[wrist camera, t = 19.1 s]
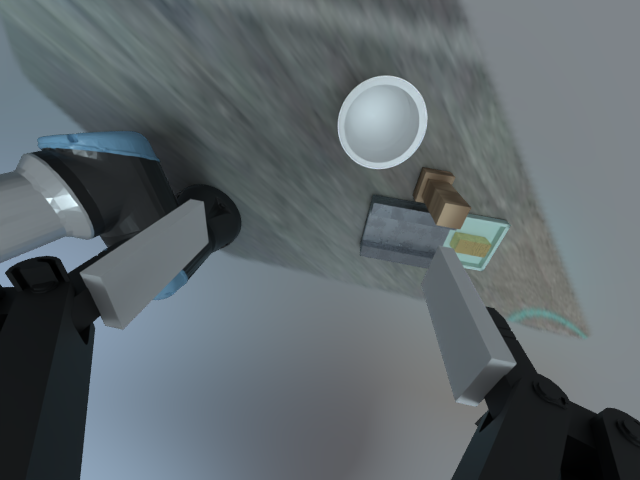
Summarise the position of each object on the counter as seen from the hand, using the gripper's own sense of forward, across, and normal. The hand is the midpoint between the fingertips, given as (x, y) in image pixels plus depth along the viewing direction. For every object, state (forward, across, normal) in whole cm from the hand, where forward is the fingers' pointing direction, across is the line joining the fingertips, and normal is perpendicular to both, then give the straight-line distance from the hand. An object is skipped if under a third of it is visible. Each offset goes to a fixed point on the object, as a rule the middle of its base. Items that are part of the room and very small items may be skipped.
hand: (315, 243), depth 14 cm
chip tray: (+37, +28, -16) cm, 49 cm away
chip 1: (+36, +26, -16) cm, 48 cm away
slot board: (+37, +15, -16) cm, 43 cm away
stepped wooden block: (+37, +17, -6) cm, 41 cm away
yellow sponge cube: (+35, +28, -16) cm, 47 cm away
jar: (+37, +4, +4) cm, 37 cm away
